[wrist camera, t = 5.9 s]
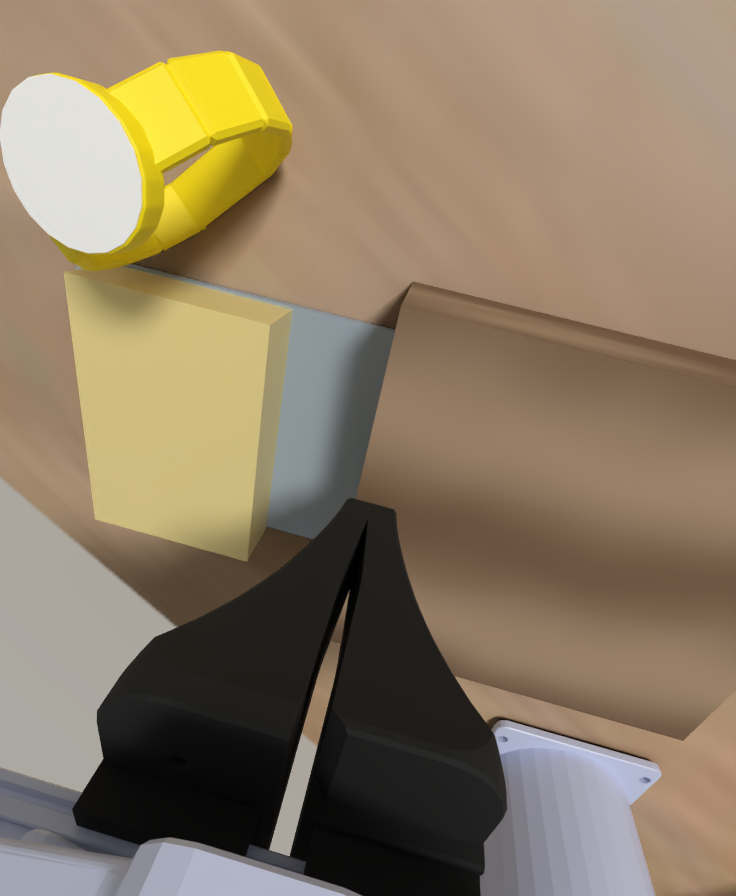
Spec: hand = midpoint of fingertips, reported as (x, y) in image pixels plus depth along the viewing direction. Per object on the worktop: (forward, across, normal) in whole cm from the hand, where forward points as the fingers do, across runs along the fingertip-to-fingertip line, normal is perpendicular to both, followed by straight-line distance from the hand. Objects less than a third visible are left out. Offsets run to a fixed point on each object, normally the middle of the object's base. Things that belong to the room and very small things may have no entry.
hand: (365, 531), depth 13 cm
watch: (+5, +6, -7) cm, 11 cm away
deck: (+4, -6, 0) cm, 7 cm away
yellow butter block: (+2, +7, 0) cm, 7 cm away
